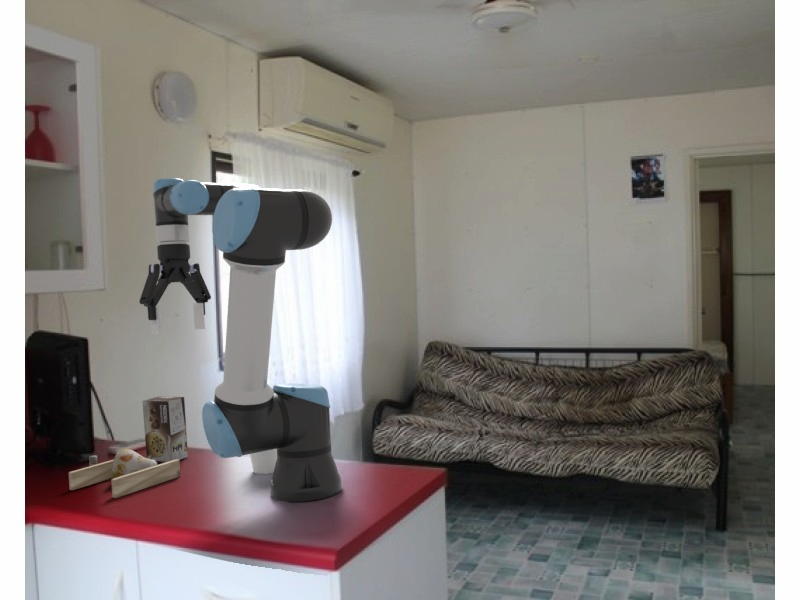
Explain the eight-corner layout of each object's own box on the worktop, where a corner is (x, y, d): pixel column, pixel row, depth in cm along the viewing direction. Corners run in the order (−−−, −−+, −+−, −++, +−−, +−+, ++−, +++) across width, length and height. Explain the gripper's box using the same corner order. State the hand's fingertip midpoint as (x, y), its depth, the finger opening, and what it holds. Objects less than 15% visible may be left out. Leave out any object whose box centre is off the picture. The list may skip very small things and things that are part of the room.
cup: (291, 465, 179) (289, 417, 179) (278, 475, 170) (275, 424, 170) (257, 465, 181) (254, 417, 181) (242, 475, 172) (239, 425, 172)
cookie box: (189, 456, 194) (185, 396, 193) (172, 463, 188) (168, 400, 187) (162, 455, 197) (158, 395, 197) (145, 461, 192) (141, 399, 191)
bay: (180, 476, 174) (179, 459, 174) (116, 497, 159) (114, 479, 159) (134, 469, 183) (133, 453, 183) (69, 489, 168) (68, 472, 167)
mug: (156, 482, 170) (126, 453, 166) (127, 497, 173) (97, 470, 170) (168, 460, 176) (139, 432, 173) (140, 476, 180) (111, 449, 176)
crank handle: (122, 468, 186) (121, 447, 186) (128, 469, 184) (127, 448, 184) (87, 478, 177) (86, 456, 177) (93, 479, 176) (92, 457, 176)
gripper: (200, 245, 189) (205, 327, 189) (119, 244, 167) (125, 336, 168) (221, 243, 185) (227, 326, 185) (141, 241, 163) (148, 336, 164)
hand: (178, 331), depth 177 cm, fingers open, 13 cm apart
